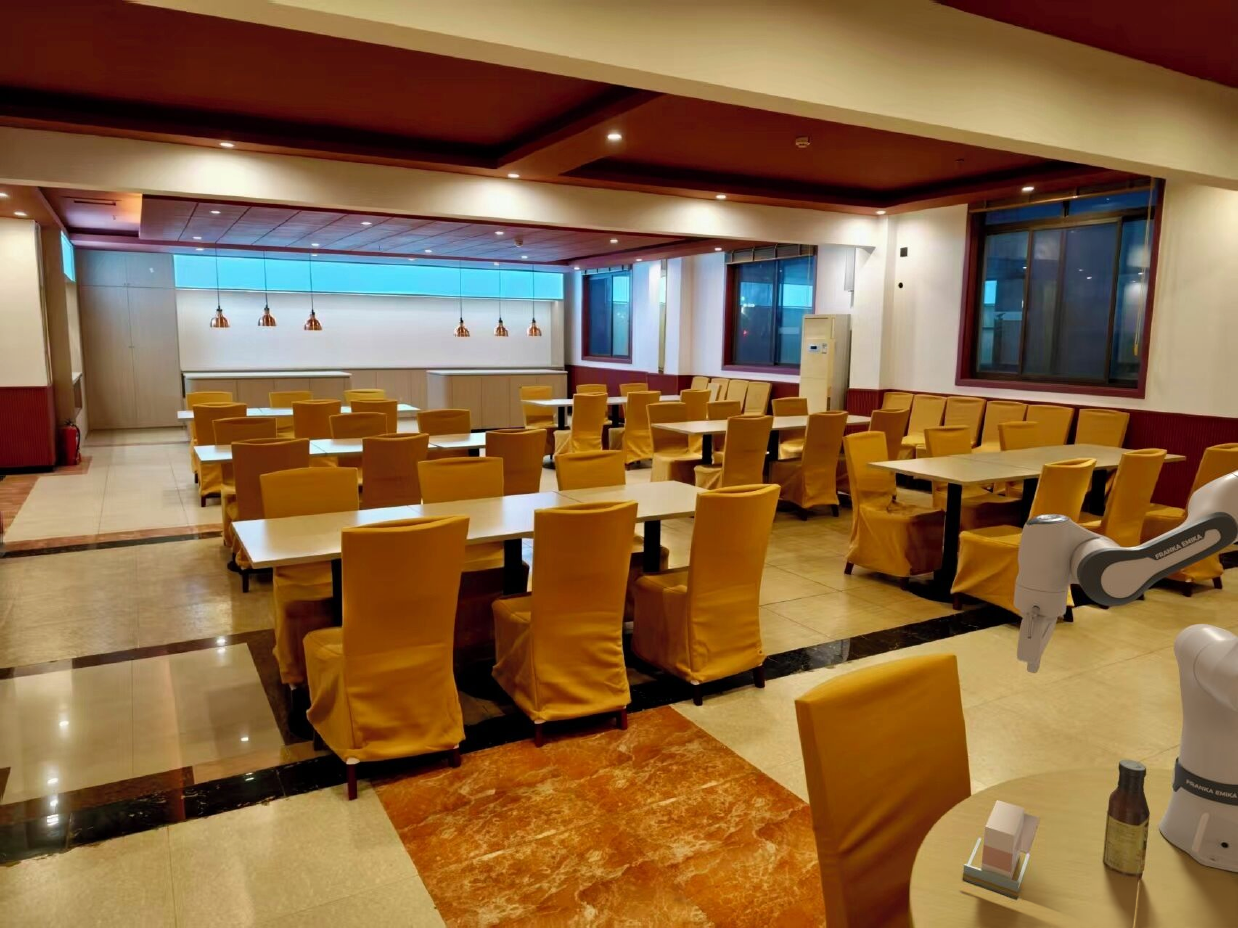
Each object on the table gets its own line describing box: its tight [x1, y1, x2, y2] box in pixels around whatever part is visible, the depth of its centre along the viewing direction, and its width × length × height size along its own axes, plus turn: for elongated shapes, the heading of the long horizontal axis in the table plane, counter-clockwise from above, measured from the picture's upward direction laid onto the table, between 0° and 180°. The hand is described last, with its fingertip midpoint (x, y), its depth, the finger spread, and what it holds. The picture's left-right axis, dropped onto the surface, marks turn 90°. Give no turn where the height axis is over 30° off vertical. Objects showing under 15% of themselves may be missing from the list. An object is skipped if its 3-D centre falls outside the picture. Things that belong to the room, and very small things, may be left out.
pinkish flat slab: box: [1020, 812, 1041, 854], centre depth 158 cm, size 7×14×2 cm, turn 146°
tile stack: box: [980, 799, 1026, 880], centre depth 146 cm, size 4×10×10 cm, turn 146°
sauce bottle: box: [1102, 759, 1151, 882], centre depth 146 cm, size 6×6×20 cm
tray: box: [962, 837, 1031, 901], centre depth 147 cm, size 8×12×3 cm
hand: (1033, 670), depth 161 cm, fingers closed
